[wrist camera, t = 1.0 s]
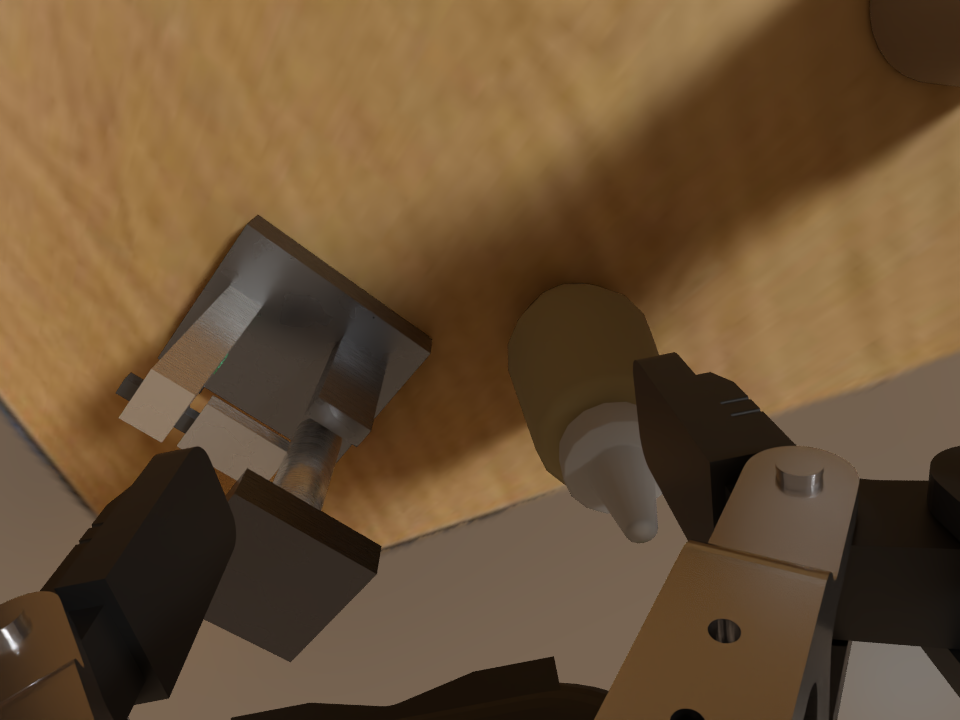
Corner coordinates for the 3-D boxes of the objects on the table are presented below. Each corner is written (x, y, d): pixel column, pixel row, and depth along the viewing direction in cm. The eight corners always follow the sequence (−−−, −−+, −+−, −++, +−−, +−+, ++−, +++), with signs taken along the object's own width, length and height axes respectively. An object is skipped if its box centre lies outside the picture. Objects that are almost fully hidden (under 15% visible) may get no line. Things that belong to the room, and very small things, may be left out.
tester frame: (432, 339, 40) (418, 452, 29) (339, 447, 43) (296, 585, 32) (257, 214, 36) (169, 291, 25) (171, 343, 40) (61, 459, 29)
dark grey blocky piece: (401, 429, 34) (376, 574, 25) (335, 503, 36) (290, 662, 27) (256, 335, 31) (170, 457, 22) (194, 420, 33) (93, 564, 24)
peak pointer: (234, 434, 33) (230, 440, 32) (224, 447, 33) (220, 454, 32) (131, 372, 31) (125, 378, 30) (121, 386, 31) (115, 393, 31)
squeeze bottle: (493, 378, 41) (509, 602, 25) (516, 254, 38) (552, 420, 21) (619, 394, 42) (715, 622, 26) (653, 273, 38) (789, 449, 22)
